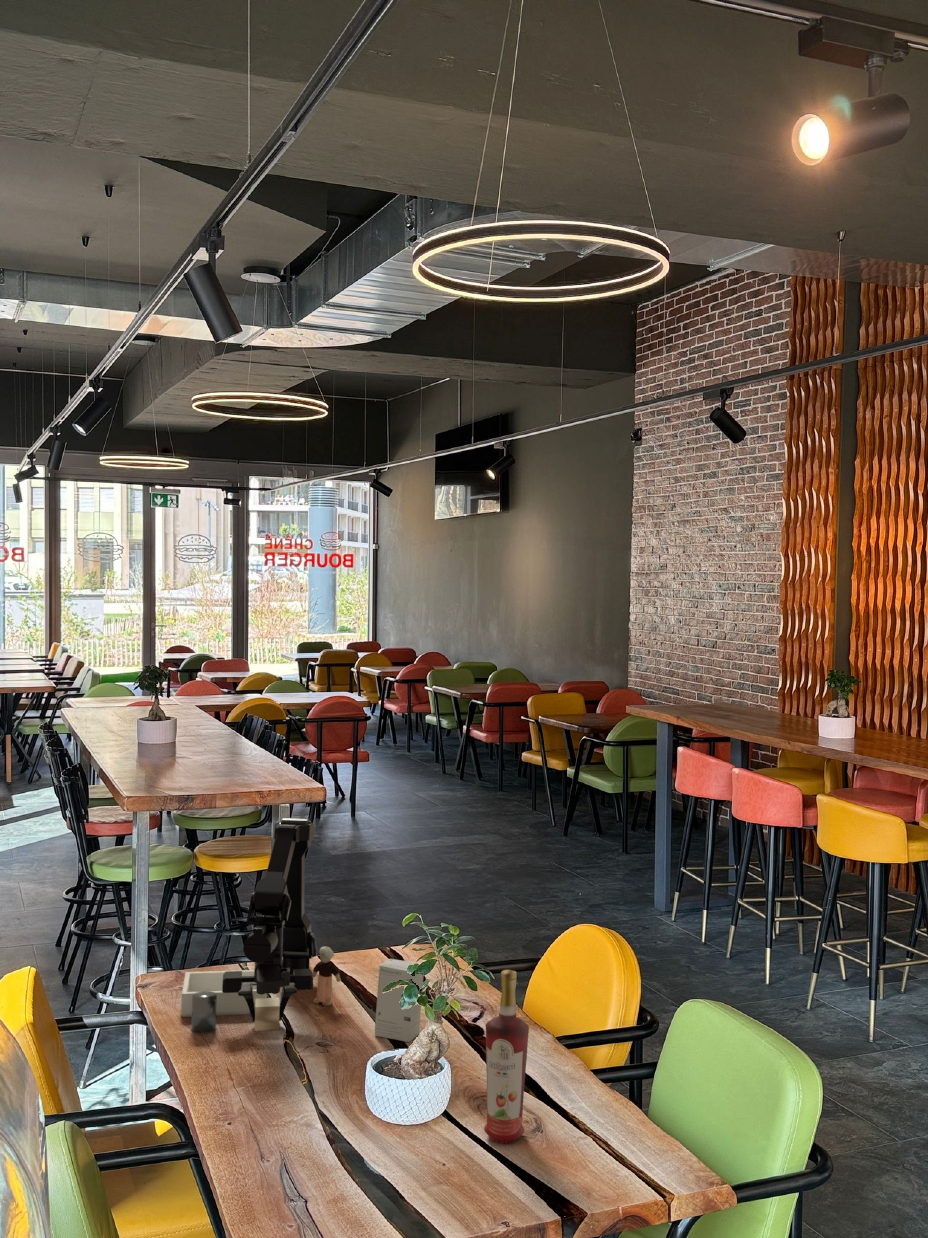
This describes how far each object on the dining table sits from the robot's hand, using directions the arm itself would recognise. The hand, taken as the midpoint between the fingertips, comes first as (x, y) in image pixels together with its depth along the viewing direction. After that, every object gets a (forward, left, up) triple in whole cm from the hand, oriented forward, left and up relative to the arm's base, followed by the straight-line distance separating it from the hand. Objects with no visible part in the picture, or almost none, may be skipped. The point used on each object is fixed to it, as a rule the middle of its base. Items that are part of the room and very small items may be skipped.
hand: (266, 1021), depth 230 cm
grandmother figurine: (-13, -12, -1) cm, 18 cm away
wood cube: (0, 0, -1) cm, 1 cm away
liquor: (-39, +54, -1) cm, 67 cm away
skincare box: (-27, +8, -1) cm, 28 cm away
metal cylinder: (+13, 0, -1) cm, 13 cm away
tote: (+9, -14, -1) cm, 17 cm away
